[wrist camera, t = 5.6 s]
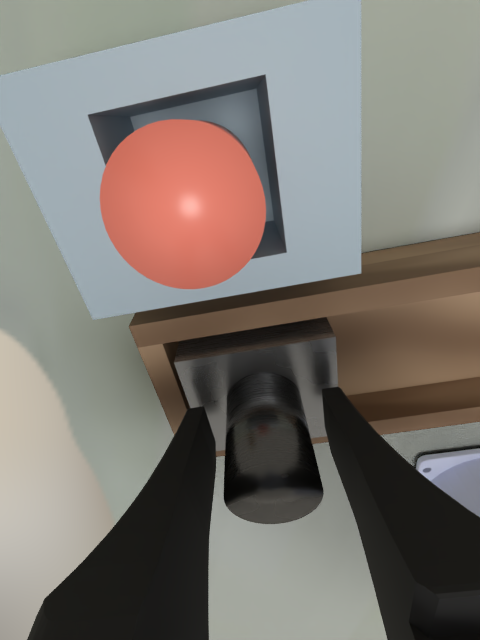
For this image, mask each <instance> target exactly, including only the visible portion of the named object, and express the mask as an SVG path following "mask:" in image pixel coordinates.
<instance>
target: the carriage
mask: <svg viewBox="0 0 480 640" xmlns="http://www.w3.org/2000/svg"><path fill="white" fill-rule="evenodd" d="M174 364H175V367H176V370H177V372H178V375H179V378H180V381H181V383H182V386H183V389H184V392H185V395H186V397H187V400H188V403H189V406H190V408H195V407H202V406H204V408H205V411H206V414H207V417H208V420H209V423H210V426H211V429H212V432H213V435H214V438H215V441H216V451H221V450H225V473H224V501H225V504H226V506H227V507H228V509H229V510H230V511H231V512H232V513H233V514H235V515H236V516H238V517H240V518H242V519H244V520H247V521H251V522H255V523H261V524H278V523H286V522H290V521H294V520H297V519H299V518H302V517H304V516H306V515H308V514H309V513H311V512H312V511H313V510H314V509H316V507H317V506H318V505H319V504H320V502H321V500H322V498H323V487H322V482H321V478H320V474H319V470H318V466H317V462H316V457H315V453H314V449H313V445H312V441H311V438H318V437H325V436H327V434H326V430H325V424H324V412H323V399H322V389H325V388H331V387H338V373H337V352H336V336H335V334H334V332H333V330H332V328H331V326H330V324H329V321H328V319H327V317H322V318H316V319H310V320H304V321H298V322H292V323H286V324H280V325H274V326H268V327H261V328H255V329H249V330H243V331H237V332H231V333H225V334H219V335H213V336H207V337H200V338H194V339H188V340H182V341H179V345H178V349H177V353H176V357H175V360H174Z"/></svg>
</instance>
